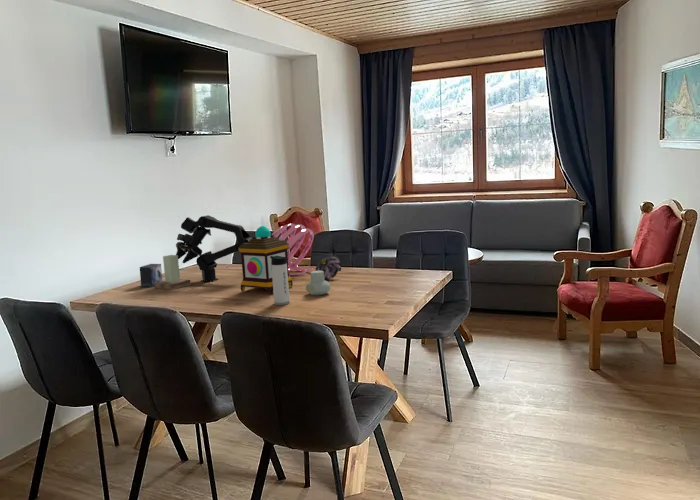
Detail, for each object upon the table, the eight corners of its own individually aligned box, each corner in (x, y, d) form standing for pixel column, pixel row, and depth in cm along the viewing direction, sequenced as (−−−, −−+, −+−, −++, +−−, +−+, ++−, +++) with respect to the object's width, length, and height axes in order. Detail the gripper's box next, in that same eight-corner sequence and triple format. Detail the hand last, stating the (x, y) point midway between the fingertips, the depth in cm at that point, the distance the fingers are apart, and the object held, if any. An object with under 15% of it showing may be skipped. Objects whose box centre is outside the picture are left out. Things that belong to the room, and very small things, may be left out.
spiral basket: (336, 234, 294) (296, 206, 301) (306, 255, 273) (264, 225, 279) (320, 272, 311) (282, 245, 317) (290, 295, 289) (251, 265, 296)
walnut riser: (190, 284, 282) (190, 279, 282) (172, 289, 272) (171, 284, 271) (174, 283, 288) (173, 278, 288) (155, 288, 278) (155, 283, 278)
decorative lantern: (269, 296, 247) (264, 228, 242) (236, 292, 257) (231, 228, 253) (297, 286, 263) (292, 223, 259) (264, 284, 274) (260, 223, 270)
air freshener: (304, 293, 247) (302, 271, 246) (319, 290, 252) (318, 268, 251) (317, 297, 239) (316, 274, 237) (333, 294, 243) (332, 271, 242)
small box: (152, 287, 280) (150, 267, 279) (140, 287, 282) (138, 267, 280) (163, 283, 290) (161, 263, 289) (152, 283, 292) (150, 263, 290)
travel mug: (273, 302, 234) (270, 255, 231) (289, 301, 234) (286, 254, 231) (273, 305, 228) (269, 257, 225) (289, 304, 228) (285, 256, 225)
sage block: (180, 280, 280) (177, 255, 279) (172, 282, 276) (169, 256, 275) (173, 280, 283) (171, 254, 281) (165, 282, 279) (162, 256, 277)
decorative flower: (305, 259, 281) (332, 248, 286) (311, 278, 287) (336, 267, 291) (317, 271, 269) (344, 259, 274) (322, 290, 275) (349, 278, 279)
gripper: (177, 226, 288) (159, 250, 283) (194, 229, 275) (175, 254, 269) (193, 239, 295) (175, 263, 290) (210, 242, 281) (191, 267, 276)
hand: (178, 261), depth 281 cm, fingers open, 9 cm apart
